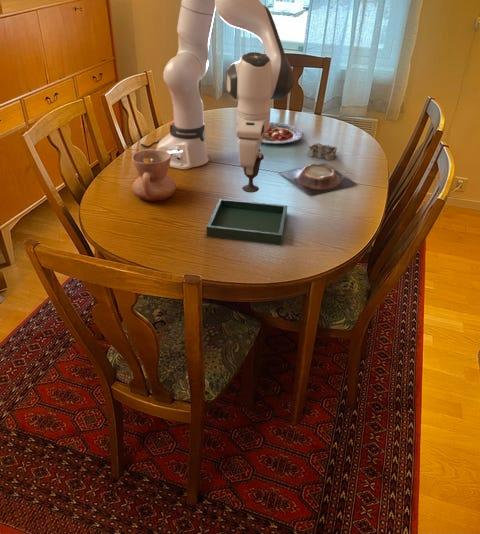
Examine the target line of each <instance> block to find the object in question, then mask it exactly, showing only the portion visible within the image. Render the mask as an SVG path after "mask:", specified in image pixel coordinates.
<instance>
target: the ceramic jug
mask: <svg viewBox="0 0 480 534" xmlns="http://www.w3.org/2000/svg"><path fill="white" fill-rule="evenodd" d="M145 159H150V162H145V161H144V160H145ZM151 159H153V160H152V161H151ZM170 160H171V155H170V153H169V152H167V151H165V150H161V149H159V150H156V148H146V149H142V150H139V151H137V152H135V153H134V154H133V155H132V157H131V161H132V163H133V166H134V168H135V170H136V172H137V174H138V175H139V177H138V178H137V179H135V181H134V182H133V183H132V186H131V187H132V188H131V190H132V193H133V194H134V195H135V196H136V197H137V198H138V199H141V200H144V201H148V202H157V201H158V202H159V201H163V200H167V199H168V198H170V197H172V196H173V195H174V194H175V193H176V190H177V184H176V182H175V180H174V179H173V178H172V177H171V176H169V175H167V174H168V172H169V168H170V167H169V166H170Z"/></svg>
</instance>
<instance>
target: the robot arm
mask: <svg viewBox="0 0 480 534" xmlns="http://www.w3.org/2000/svg"><path fill="white" fill-rule="evenodd" d="M178 13H179V14H178V20H177V25H176V26H177V27H176V32H177V37H178V39H177V40H178V47H177V53H176V55H175V56H174V57H172V58H170V59H169V60H168V61H167V63H166V64H165V66H164V69H163V72H162V77H163V81H164V84H165V85H166V86H167V87H168V91H169V94H170V98H171V103H172V110H173V111H172V113H173V120H172V121H171V122H170V125H169V127H168V134H166V135H165V136H164V137H162V138H160V139H157V141H153V142H152V143H150V144H148V145H146V144H144V143H140V146H141V147H144V148H146V149H149V148H151V147H153V146H154V145H156V144H157V145H156V148H155V149H156V150H159V149H161V150H165V151H167V152H169V153H170V155H171V160H170V166H169V168H174V169H179V170H188V169H191V168H196V167H200V166H203V165H206V164H207V163H208V162H209V161H210V159H209V155H208V153H207V152H208V151H207V146H206V124H205V123H204V115H205V114H204V102H203V99H202V98H201V93H200V88H199V85H200V81H201V80H202V79H203V78H204V77H205V75H206V74H207V71H208V67H209V51H210V50H209V48H210V47H209V46H210V39H211V33H212V29H213V24H214V18H215V13H217V14H218V16H219V17H220V19H221V20H222V21H223V22H225V23H226V24H227V25H229V26H230V27H233V28H236V29H240V30H243V31H245V32H248V33H250V34H252V35H255V36H256V37H257V38H258V39H259V40H260V42H261V44H262V47H263V50H264V53H265V54H264V53H262V52H257V51H250V52H245V53H244V54H242V55H241V57H240V58H239V60H238V61H235V62H232V63H231V64H230V65H229V67H227V69H226V70H225V91H226V93H227V95H229V96H230V97H231V98H233V100H238V103H237V107H236V130H235V131H236V132H235V137H237V138H238V143H237V144H238V159H239V165H240V167H242V168H243V167H246V174H248V175H252V174H253V167H254V164H255V161H256V158H257V155H258V152H259V149H260V150H261V145H262V143H263V142H262V141H263V135H264V133H265V131H267V130H268V129H269V127H270V122H271V104H270V103H271V102H270V100H283V99H285V98H286V97H287V96H288V95H289V94H290V93H291V92H292V90H293V89H294V86H295V75H294V70H293V68H292V65H291V64H290V62H289V59H288V57H287V56H286V53H285V49H284V47H283V44H282V41H281V39H280V35H279V32H278V29H277V26H276V24H275V21H274V18H273V16H272V13H271V11H270V9H269V8H268V7H267V6H266V5H264V4H263V3H262V2H261V1H260V0H181V2H180V8H179V12H178ZM152 160H153V159H150V162H151V161H152Z"/></svg>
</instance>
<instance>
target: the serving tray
mask: <svg viewBox="0 0 480 534" xmlns="http://www.w3.org/2000/svg"><path fill="white" fill-rule="evenodd" d="M287 214H288V205H284V204H277V203H276V204H274V203H266V202H255V201H249V200H248V201H247V200H236V199H228V198H219V199H218V201H217V203H216V205H215V207H214V210H213V212H212V214H211V216H210V219H209V221H208V223H207V225H206V237H209V238H217V239H226V240H233V241H243V242H253V243H260V244H270V245H277V246H281V245H282V241H283V236H284V230H285V225H286V221H287V220H286V219H287Z"/></svg>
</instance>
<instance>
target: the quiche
mask: <svg viewBox="0 0 480 534" xmlns="http://www.w3.org/2000/svg"><path fill="white" fill-rule="evenodd" d="M280 175H281V176H283V177H284V178H287V179H288V180H289V181H291V182H292V183H293V184H294V185H296V186H297V187H299V189H301V190H302V191H303V192H304V193H306V194H307V195H310V196H312V195H313V196H314V195H319V194H324V193H328V192H332V191H335V190H336V191H337V190H339V189H344V188H347V187H352V186H355V185H357V183H356V182H355V181H354V180H352V179H350V178H348V177H347V176H344V175H343V174H341V173H340V172H338V171H337V170H335V169H334V168H333V167H331V166H330V165H328V164H327V163H325V162H324V163H318V164H317V163H316V164H315V163H311V164H309V165H306V166H304V167H303V166H302V167H300V168H296V169H293V170H288V171H284V172H280Z"/></svg>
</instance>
